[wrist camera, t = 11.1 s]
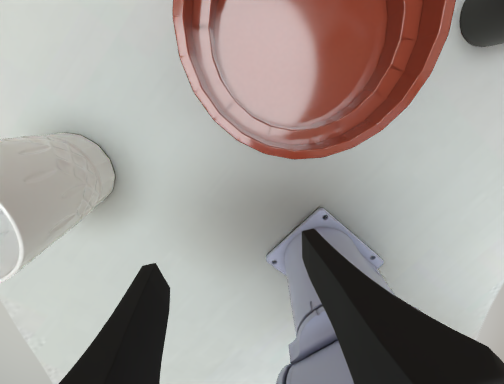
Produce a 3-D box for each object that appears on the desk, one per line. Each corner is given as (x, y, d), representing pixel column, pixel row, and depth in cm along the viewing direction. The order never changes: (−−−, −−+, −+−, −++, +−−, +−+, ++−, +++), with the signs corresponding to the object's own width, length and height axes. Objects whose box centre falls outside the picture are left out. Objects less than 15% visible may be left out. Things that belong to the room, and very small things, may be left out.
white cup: (60, 104, 19) (-121, 115, 10) (139, 172, 21) (49, 232, 12) (17, 167, 21) (-164, 224, 12) (93, 223, 24) (-14, 307, 14)
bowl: (451, 26, 17) (515, 5, 12) (297, 179, 21) (307, 200, 17) (298, -188, 13) (317, -321, 9) (153, 54, 18) (121, 42, 13)
